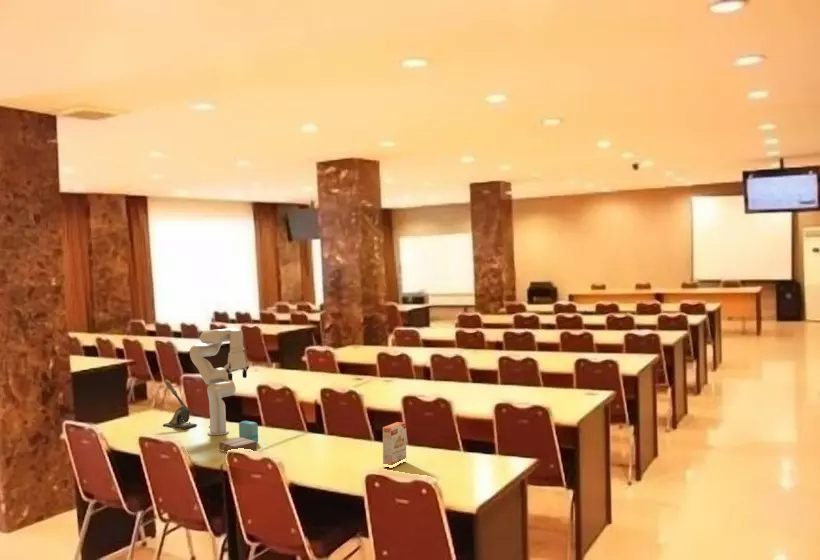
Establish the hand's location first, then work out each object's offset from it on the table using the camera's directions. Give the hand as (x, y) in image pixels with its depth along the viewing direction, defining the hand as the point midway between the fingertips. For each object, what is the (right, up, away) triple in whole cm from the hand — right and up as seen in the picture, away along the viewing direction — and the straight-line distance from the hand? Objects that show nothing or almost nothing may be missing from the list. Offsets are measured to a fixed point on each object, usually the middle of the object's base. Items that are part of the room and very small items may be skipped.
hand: (237, 378), depth 428 cm
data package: (+8, -37, -6) cm, 38 cm away
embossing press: (-48, -37, +40) cm, 73 cm away
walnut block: (+5, -38, -21) cm, 44 cm away
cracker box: (+95, -37, -58) cm, 118 cm away
